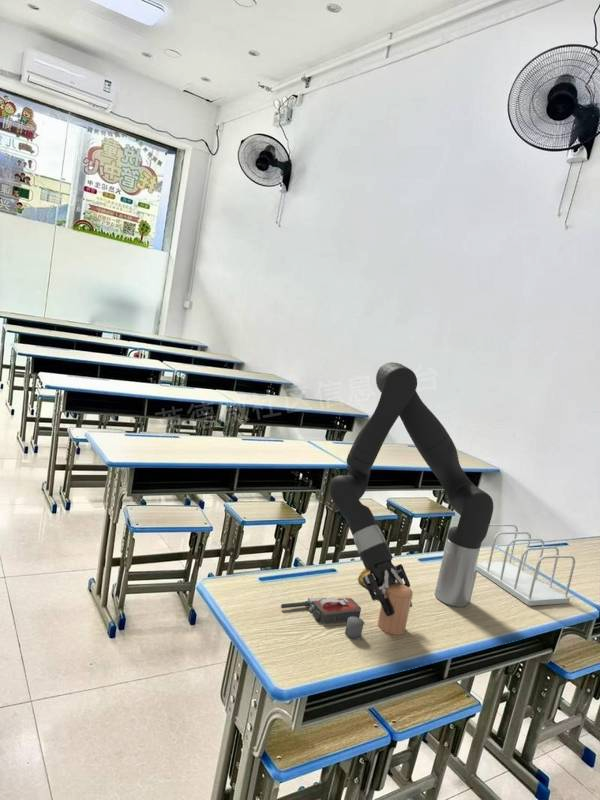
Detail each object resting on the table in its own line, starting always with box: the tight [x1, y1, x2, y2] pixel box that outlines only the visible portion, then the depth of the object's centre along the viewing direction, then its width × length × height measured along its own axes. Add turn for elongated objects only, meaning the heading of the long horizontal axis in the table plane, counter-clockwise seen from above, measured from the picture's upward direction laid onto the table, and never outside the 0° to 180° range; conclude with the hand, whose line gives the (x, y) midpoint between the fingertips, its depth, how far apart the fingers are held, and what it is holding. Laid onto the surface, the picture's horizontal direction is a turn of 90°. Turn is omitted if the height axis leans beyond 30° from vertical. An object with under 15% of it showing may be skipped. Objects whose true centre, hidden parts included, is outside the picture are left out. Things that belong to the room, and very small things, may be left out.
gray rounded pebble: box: [344, 617, 365, 640], centre depth 128 cm, size 4×4×4 cm
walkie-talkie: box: [280, 596, 362, 624], centre depth 135 cm, size 9×4×20 cm
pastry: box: [357, 568, 383, 594], centre depth 155 cm, size 9×7×4 cm
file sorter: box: [475, 523, 576, 607], centre depth 173 cm, size 25×17×16 cm
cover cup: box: [377, 583, 414, 636], centre depth 134 cm, size 7×7×10 cm
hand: (400, 611), depth 133 cm, fingers closed on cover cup, 7 cm apart
